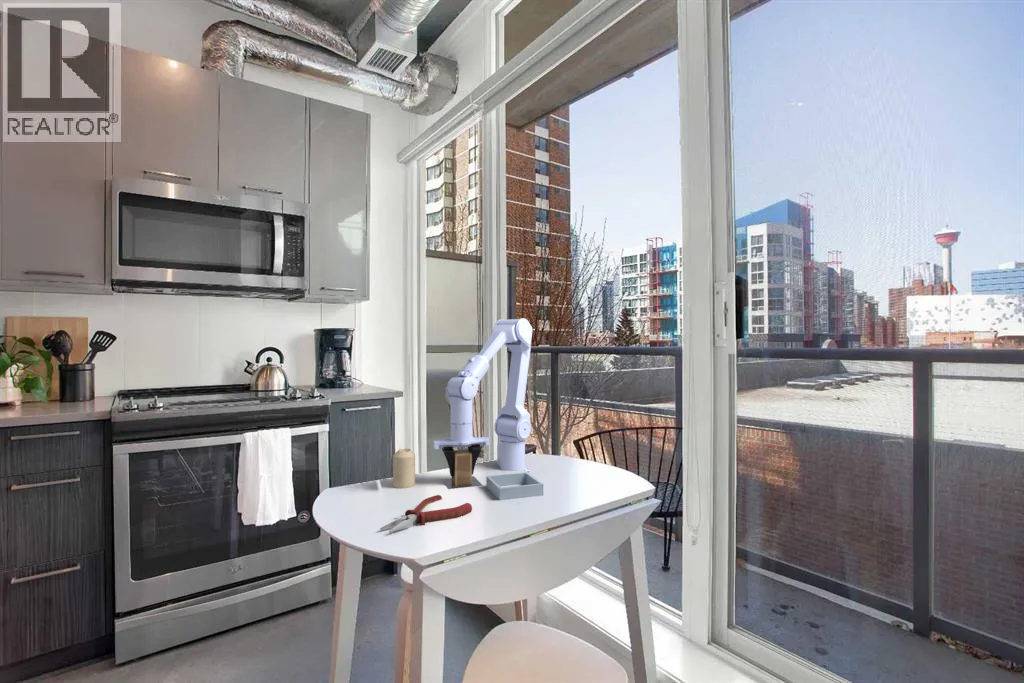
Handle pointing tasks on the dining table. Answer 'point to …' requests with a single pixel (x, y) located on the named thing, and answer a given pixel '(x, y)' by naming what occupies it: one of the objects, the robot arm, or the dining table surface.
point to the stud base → (451, 485)
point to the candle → (404, 469)
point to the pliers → (427, 515)
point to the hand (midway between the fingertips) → (461, 474)
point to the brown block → (462, 467)
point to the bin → (514, 492)
